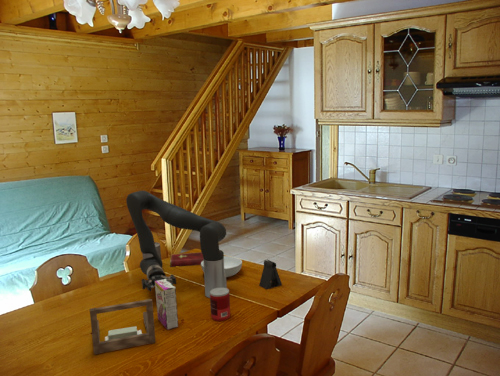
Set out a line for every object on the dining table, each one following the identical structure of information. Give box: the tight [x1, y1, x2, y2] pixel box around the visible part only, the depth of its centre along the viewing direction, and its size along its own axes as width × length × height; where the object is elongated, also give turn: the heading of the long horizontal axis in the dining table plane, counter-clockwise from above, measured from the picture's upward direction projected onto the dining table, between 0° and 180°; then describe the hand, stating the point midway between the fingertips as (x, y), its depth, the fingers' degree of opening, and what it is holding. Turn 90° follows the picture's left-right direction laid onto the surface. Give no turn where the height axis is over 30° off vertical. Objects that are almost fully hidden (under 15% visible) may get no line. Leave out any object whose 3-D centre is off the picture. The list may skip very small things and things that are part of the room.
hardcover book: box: [169, 251, 203, 268], centre depth 249 cm, size 12×21×4 cm, turn 97°
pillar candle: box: [141, 241, 162, 260], centre depth 239 cm, size 10×10×15 cm
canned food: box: [209, 287, 231, 322], centre depth 179 cm, size 8×8×11 cm
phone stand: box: [258, 259, 283, 290], centre depth 210 cm, size 9×6×12 cm, turn 123°
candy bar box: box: [154, 279, 179, 331], centre depth 175 cm, size 11×5×16 cm, turn 30°
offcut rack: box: [89, 298, 156, 355], centre depth 166 cm, size 21×20×16 cm
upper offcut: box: [107, 326, 138, 340], centre depth 163 cm, size 10×4×2 cm, turn 106°
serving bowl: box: [200, 255, 243, 278], centre depth 228 cm, size 21×21×7 cm
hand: (161, 287), depth 186 cm, fingers open, 8 cm apart
